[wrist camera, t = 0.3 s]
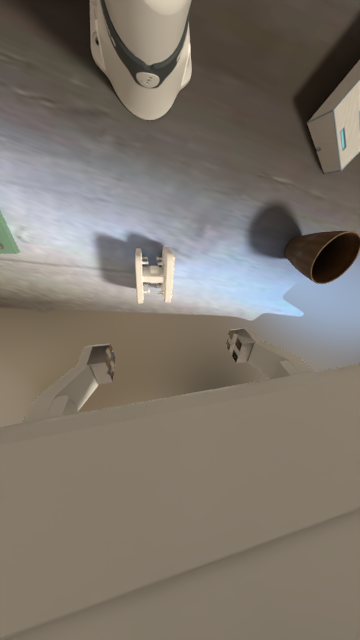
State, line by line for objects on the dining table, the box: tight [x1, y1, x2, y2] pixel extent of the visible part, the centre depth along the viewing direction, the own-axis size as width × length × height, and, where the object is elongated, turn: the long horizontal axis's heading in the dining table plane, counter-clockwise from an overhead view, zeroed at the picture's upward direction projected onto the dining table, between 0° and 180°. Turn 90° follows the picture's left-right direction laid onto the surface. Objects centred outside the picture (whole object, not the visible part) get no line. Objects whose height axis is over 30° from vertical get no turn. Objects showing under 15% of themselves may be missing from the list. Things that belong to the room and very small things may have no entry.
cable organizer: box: [135, 247, 175, 303], centre depth 50 cm, size 15×11×12 cm
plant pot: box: [285, 231, 360, 284], centre depth 54 cm, size 15×15×16 cm
